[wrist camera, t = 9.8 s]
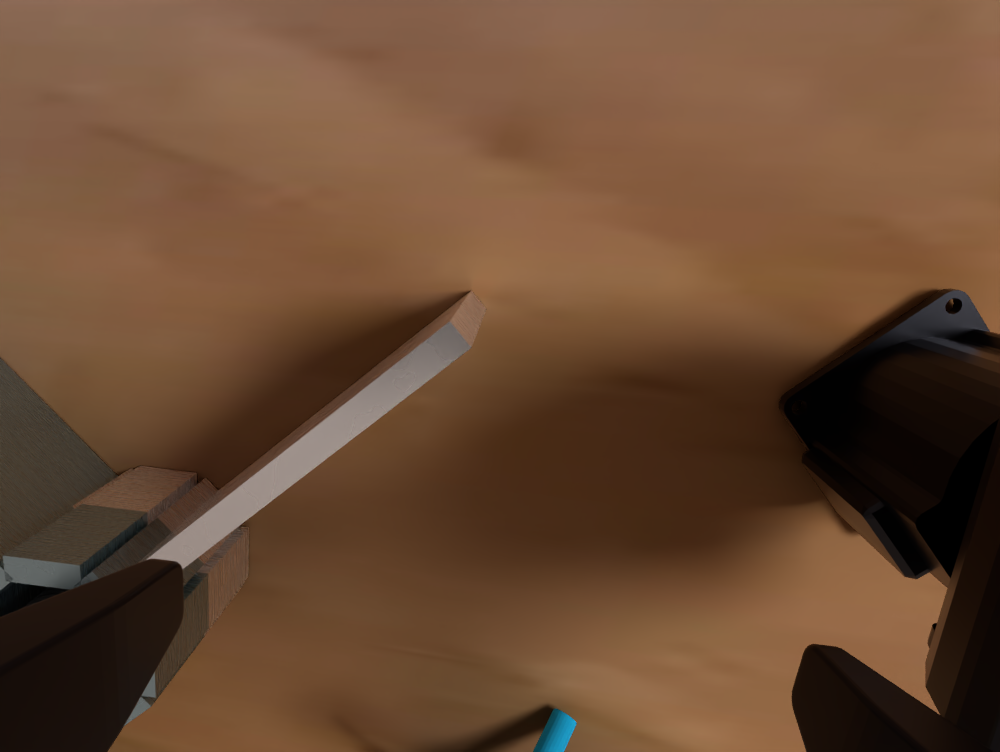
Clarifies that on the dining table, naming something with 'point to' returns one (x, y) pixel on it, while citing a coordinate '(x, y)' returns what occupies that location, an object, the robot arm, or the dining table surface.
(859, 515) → the robot arm
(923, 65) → the dining table surface
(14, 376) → the hinge fixture
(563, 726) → the gear
